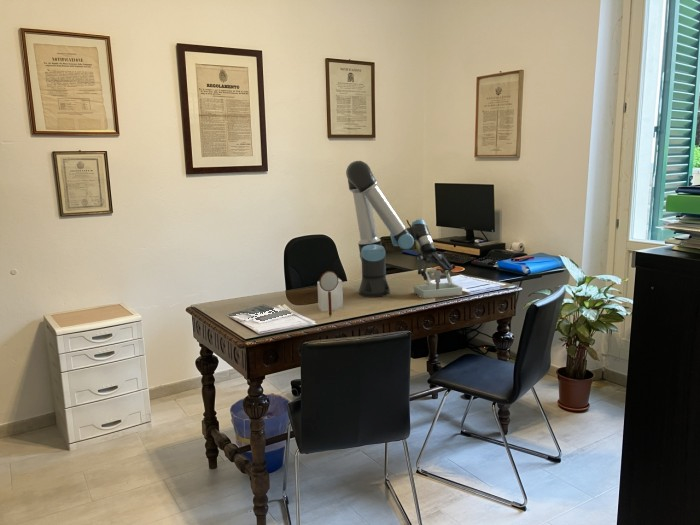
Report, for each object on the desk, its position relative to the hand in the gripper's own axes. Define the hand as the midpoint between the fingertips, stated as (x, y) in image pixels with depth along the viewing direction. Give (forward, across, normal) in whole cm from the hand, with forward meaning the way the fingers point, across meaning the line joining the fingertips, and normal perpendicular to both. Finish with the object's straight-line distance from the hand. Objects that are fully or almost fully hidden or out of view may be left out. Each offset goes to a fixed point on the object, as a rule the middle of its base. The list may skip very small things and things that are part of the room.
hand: (440, 284), depth 266 cm
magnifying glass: (+15, +58, +7) cm, 60 cm away
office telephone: (+5, +86, -4) cm, 86 cm away
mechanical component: (+1, 0, -5) cm, 5 cm away
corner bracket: (+4, +54, -4) cm, 54 cm away
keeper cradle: (+2, 0, -6) cm, 6 cm away
